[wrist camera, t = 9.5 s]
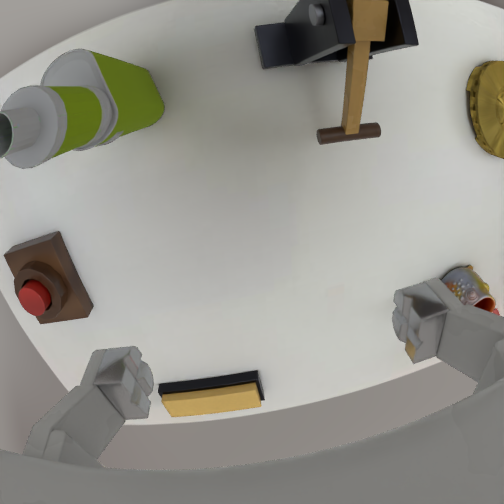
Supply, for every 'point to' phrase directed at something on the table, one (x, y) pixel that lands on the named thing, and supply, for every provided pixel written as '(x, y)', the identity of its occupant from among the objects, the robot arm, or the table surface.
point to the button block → (50, 277)
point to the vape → (77, 108)
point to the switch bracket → (328, 33)
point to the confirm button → (34, 297)
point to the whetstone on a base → (212, 394)
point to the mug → (469, 288)
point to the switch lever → (358, 71)
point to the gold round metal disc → (488, 106)
